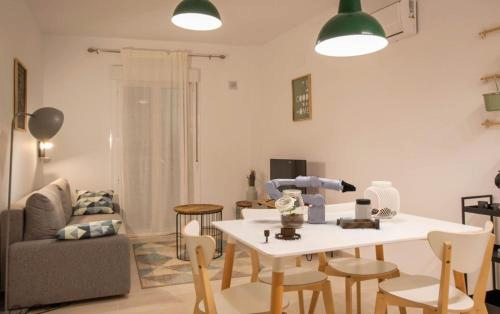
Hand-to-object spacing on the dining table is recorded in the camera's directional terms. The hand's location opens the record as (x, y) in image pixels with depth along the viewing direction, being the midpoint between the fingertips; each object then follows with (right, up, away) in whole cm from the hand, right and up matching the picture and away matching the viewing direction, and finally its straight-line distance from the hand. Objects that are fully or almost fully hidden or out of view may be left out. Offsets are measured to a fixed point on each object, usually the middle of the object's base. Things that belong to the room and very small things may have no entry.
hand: (354, 188), depth 229 cm
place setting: (-44, -21, -38) cm, 62 cm away
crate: (-7, -20, -11) cm, 23 cm away
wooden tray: (-1, -19, -12) cm, 23 cm away
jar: (+7, -19, +8) cm, 22 cm away
